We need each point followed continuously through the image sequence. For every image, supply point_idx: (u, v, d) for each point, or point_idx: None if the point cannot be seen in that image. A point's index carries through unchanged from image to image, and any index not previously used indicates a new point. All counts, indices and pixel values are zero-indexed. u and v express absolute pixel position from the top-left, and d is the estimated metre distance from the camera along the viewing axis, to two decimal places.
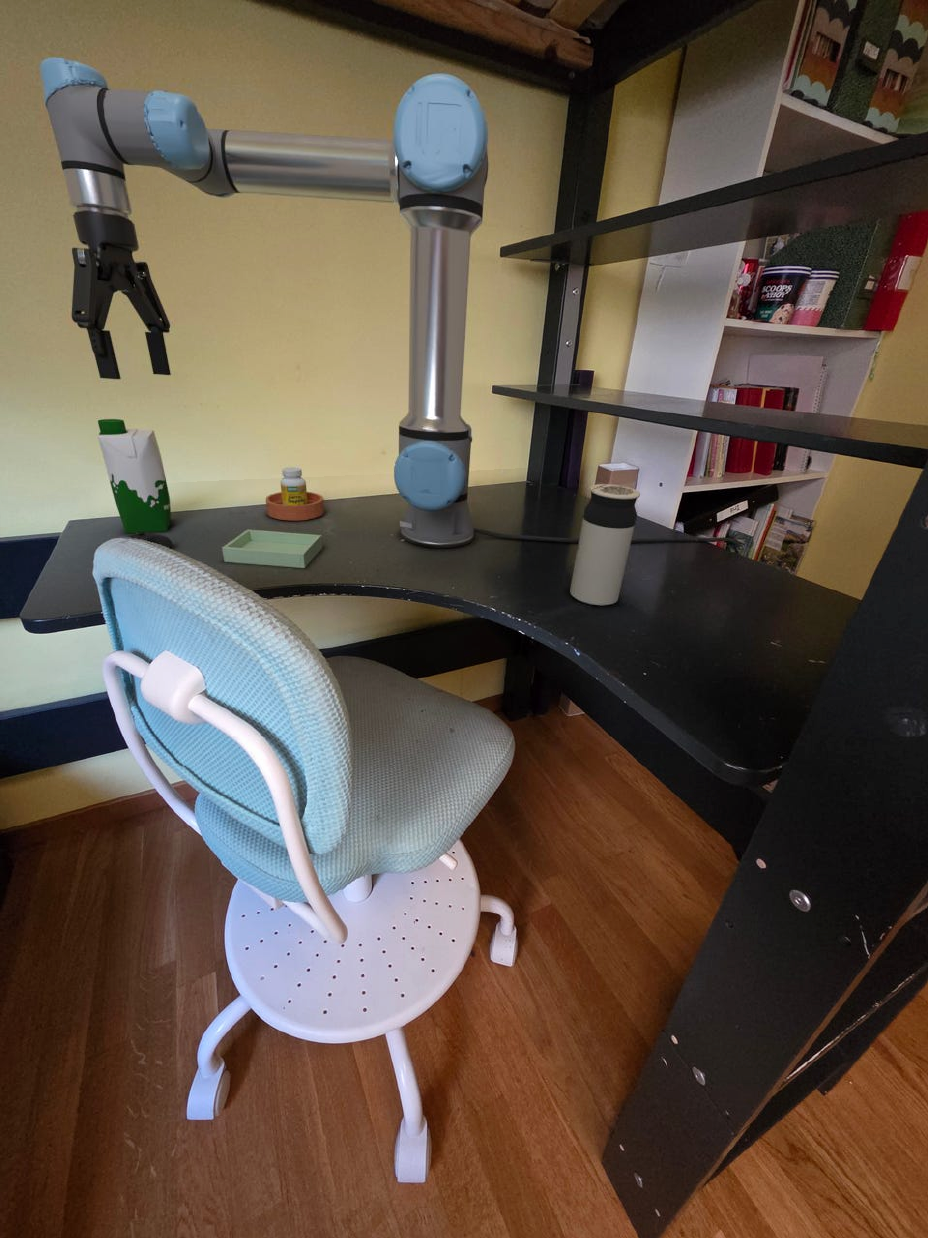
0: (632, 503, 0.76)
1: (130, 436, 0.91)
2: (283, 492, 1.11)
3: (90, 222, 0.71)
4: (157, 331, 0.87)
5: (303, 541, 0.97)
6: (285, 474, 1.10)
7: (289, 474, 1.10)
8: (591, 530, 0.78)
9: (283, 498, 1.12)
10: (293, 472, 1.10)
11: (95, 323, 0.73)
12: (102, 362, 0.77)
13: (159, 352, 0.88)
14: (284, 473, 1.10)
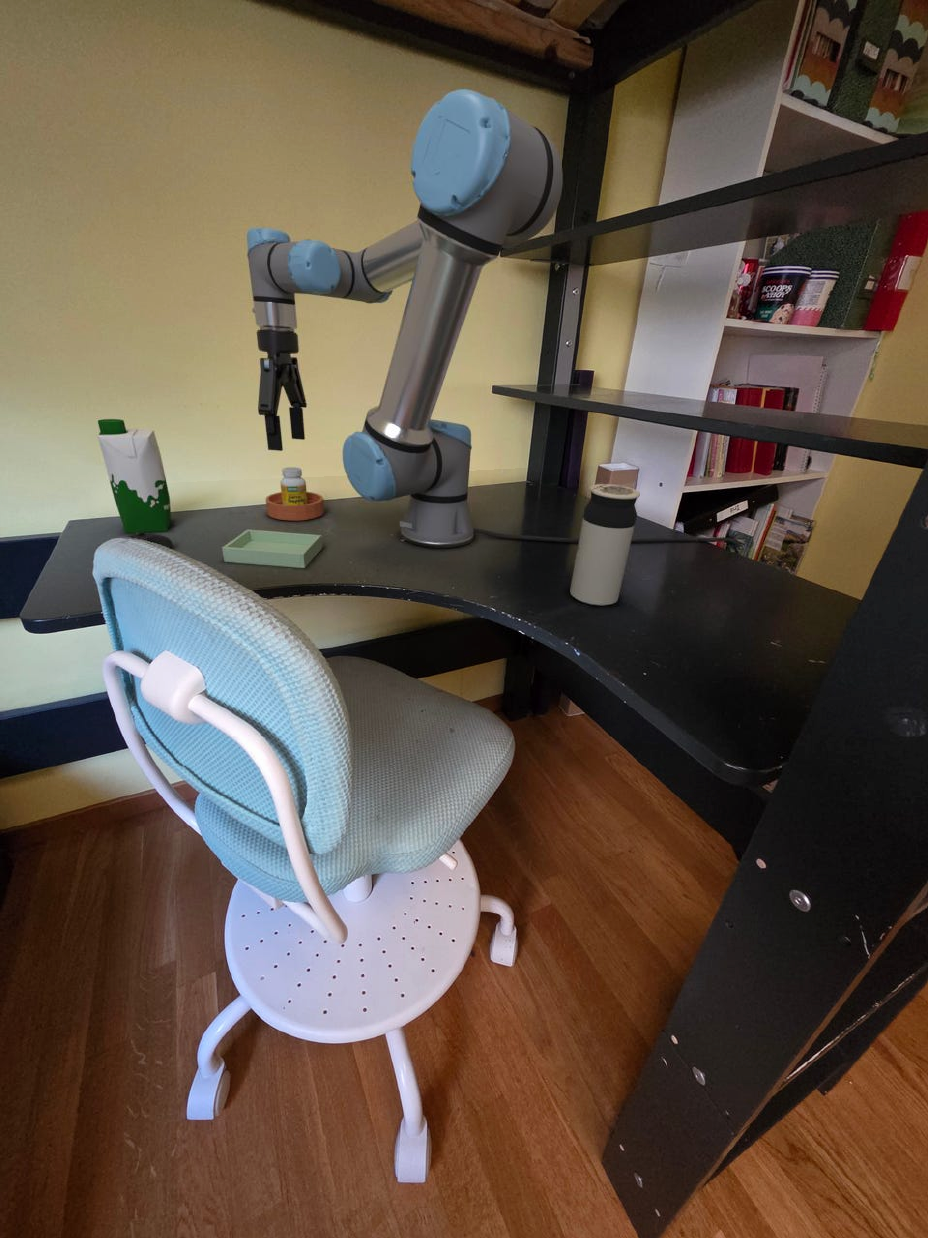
0: (632, 503, 0.76)
1: (130, 436, 0.91)
2: (283, 492, 1.11)
3: (272, 338, 0.96)
4: (298, 407, 1.11)
5: (303, 541, 0.97)
6: (285, 474, 1.10)
7: (289, 474, 1.10)
8: (591, 530, 0.78)
9: (283, 498, 1.12)
10: (293, 472, 1.10)
11: (272, 412, 0.98)
12: (271, 438, 1.01)
13: (298, 422, 1.12)
14: (284, 473, 1.10)
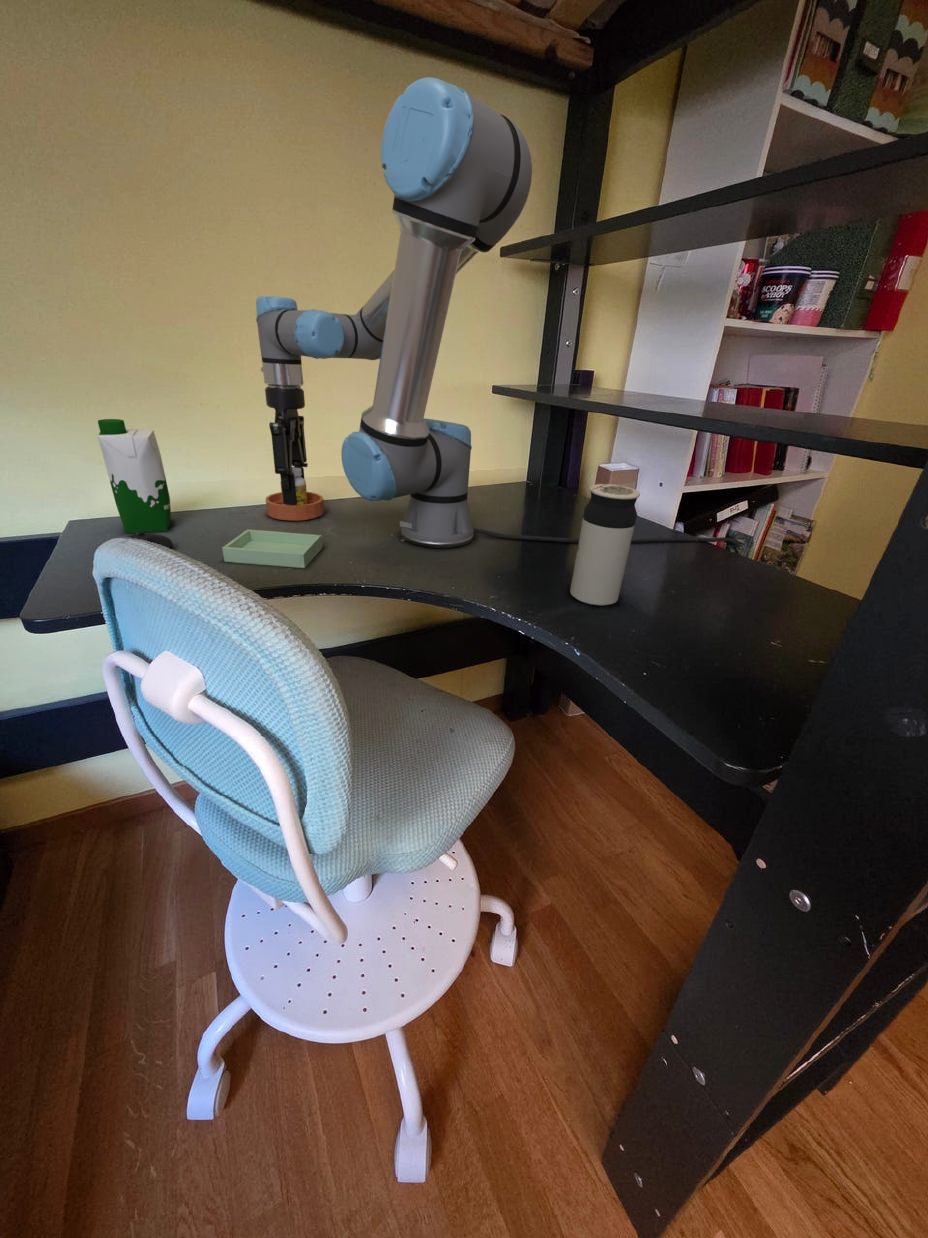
0: (632, 503, 0.76)
1: (130, 436, 0.91)
2: None
3: (279, 396, 1.01)
4: (299, 466, 1.14)
5: (303, 541, 0.97)
6: None
7: None
8: (591, 530, 0.78)
9: None
10: (293, 472, 1.10)
11: (288, 473, 1.07)
12: (286, 494, 1.10)
13: None
14: None
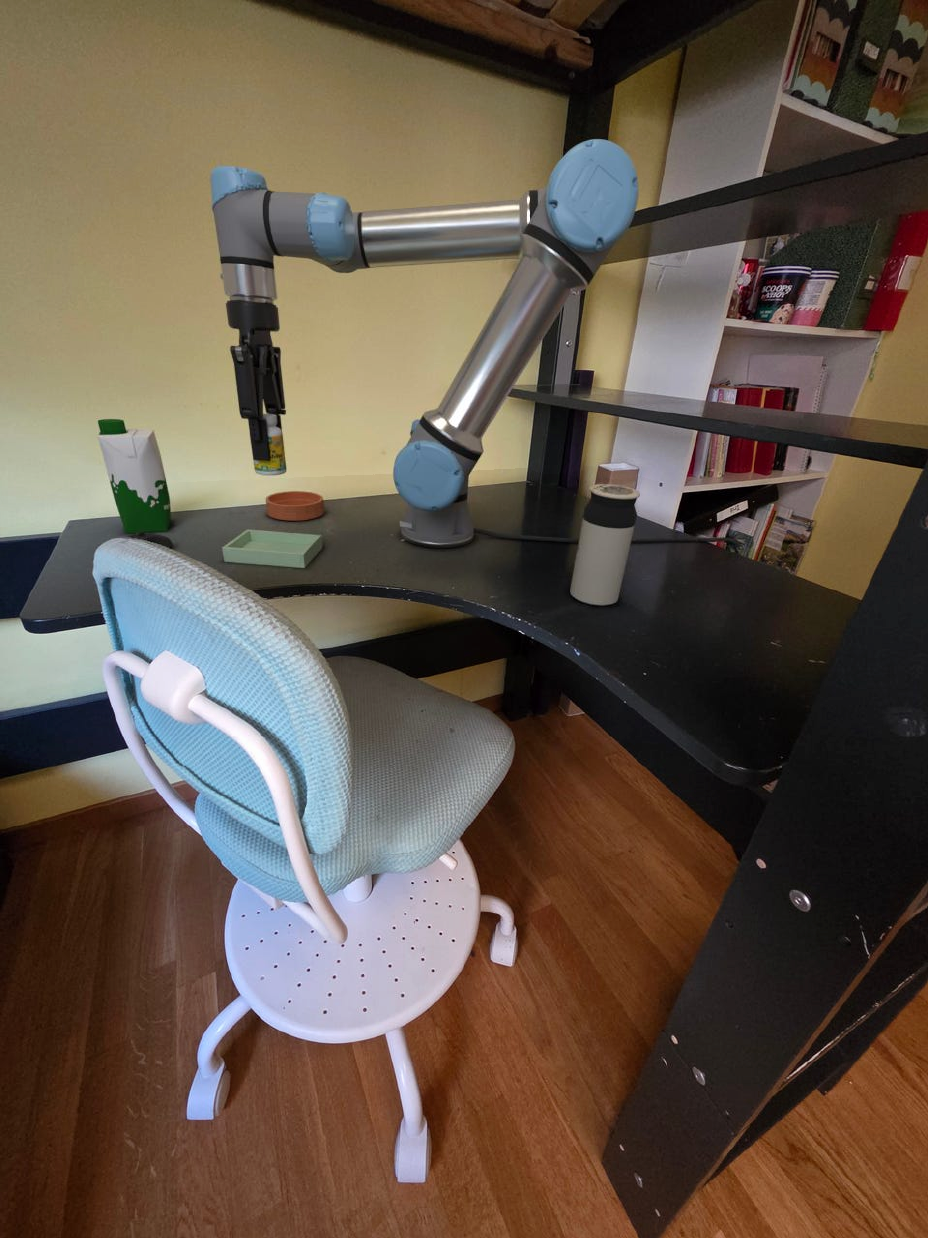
0: (632, 503, 0.76)
1: (130, 436, 0.91)
2: None
3: (244, 311, 0.76)
4: (275, 413, 0.89)
5: (303, 541, 0.97)
6: None
7: None
8: (591, 530, 0.78)
9: None
10: (265, 418, 0.85)
11: (257, 417, 0.82)
12: (257, 446, 0.85)
13: None
14: None
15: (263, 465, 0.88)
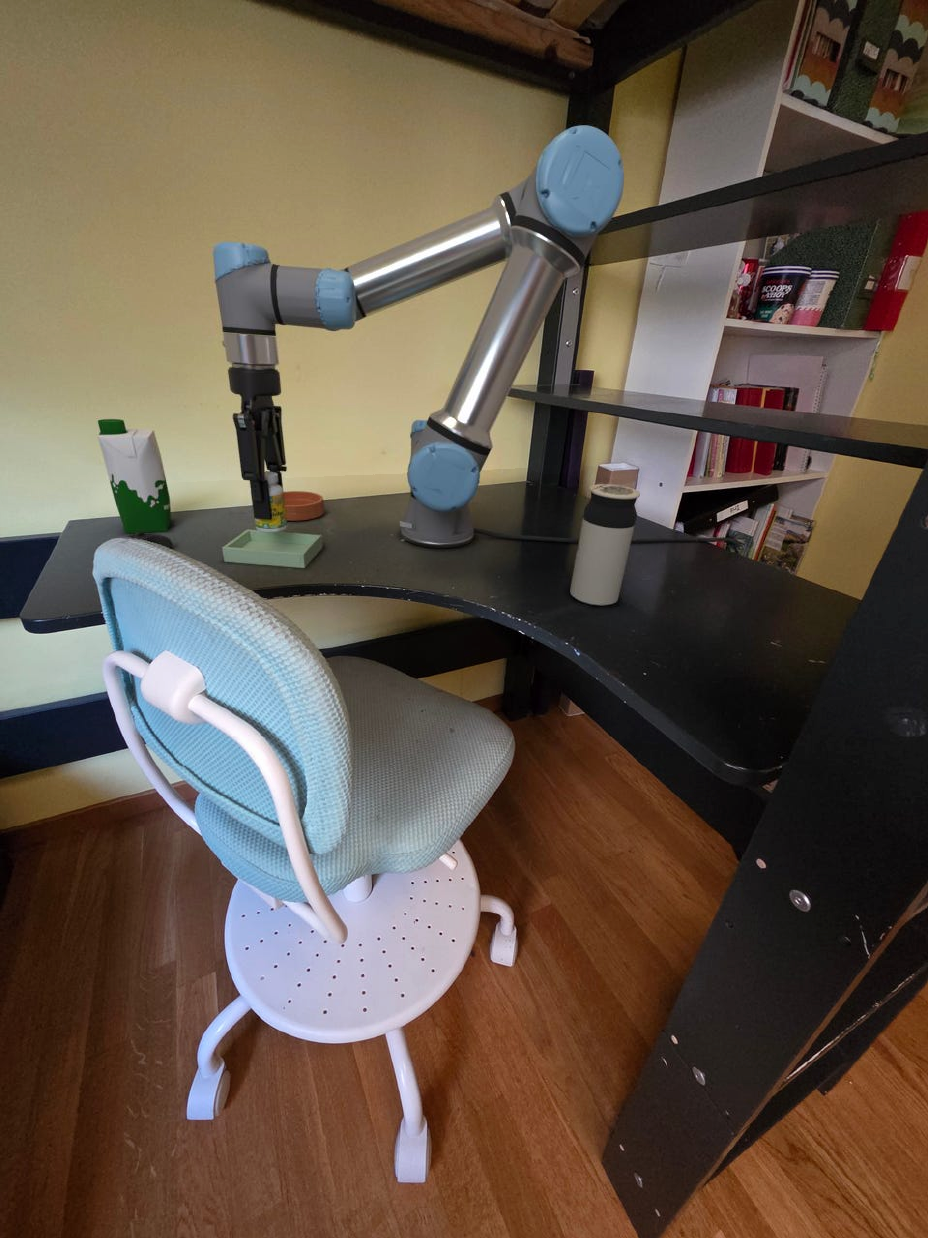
0: (632, 503, 0.76)
1: (130, 436, 0.91)
2: None
3: (246, 379, 0.76)
4: (276, 471, 0.90)
5: (303, 541, 0.97)
6: None
7: None
8: (591, 530, 0.78)
9: None
10: (266, 478, 0.85)
11: (259, 479, 0.82)
12: (258, 506, 0.86)
13: None
14: None
15: (264, 523, 0.88)
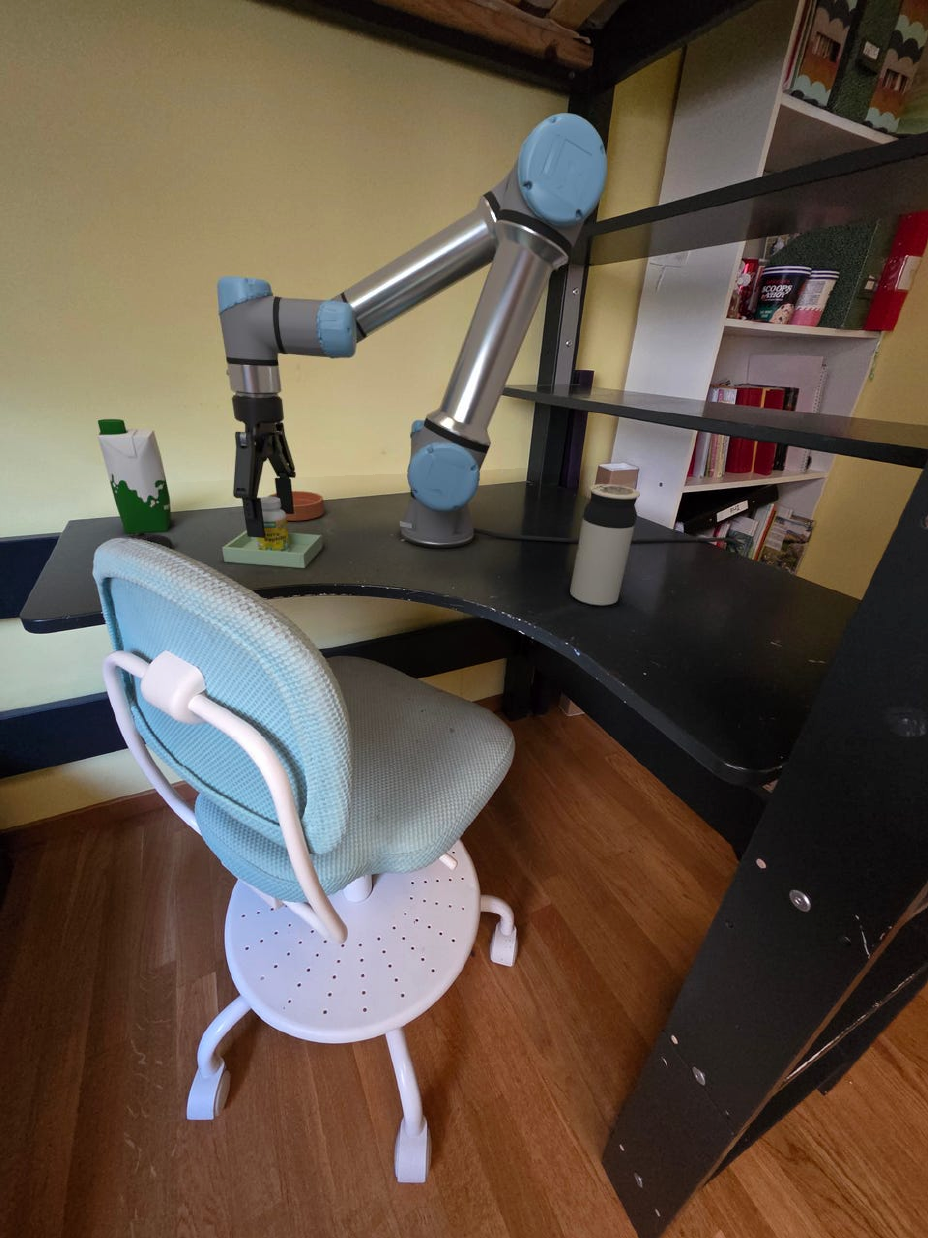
0: (632, 503, 0.76)
1: (130, 436, 0.91)
2: None
3: (250, 407, 0.78)
4: (285, 477, 0.94)
5: (303, 541, 0.97)
6: None
7: (264, 506, 0.87)
8: (591, 530, 0.78)
9: None
10: (269, 504, 0.87)
11: None
12: (251, 524, 0.83)
13: (286, 495, 0.95)
14: None
15: (267, 547, 0.90)
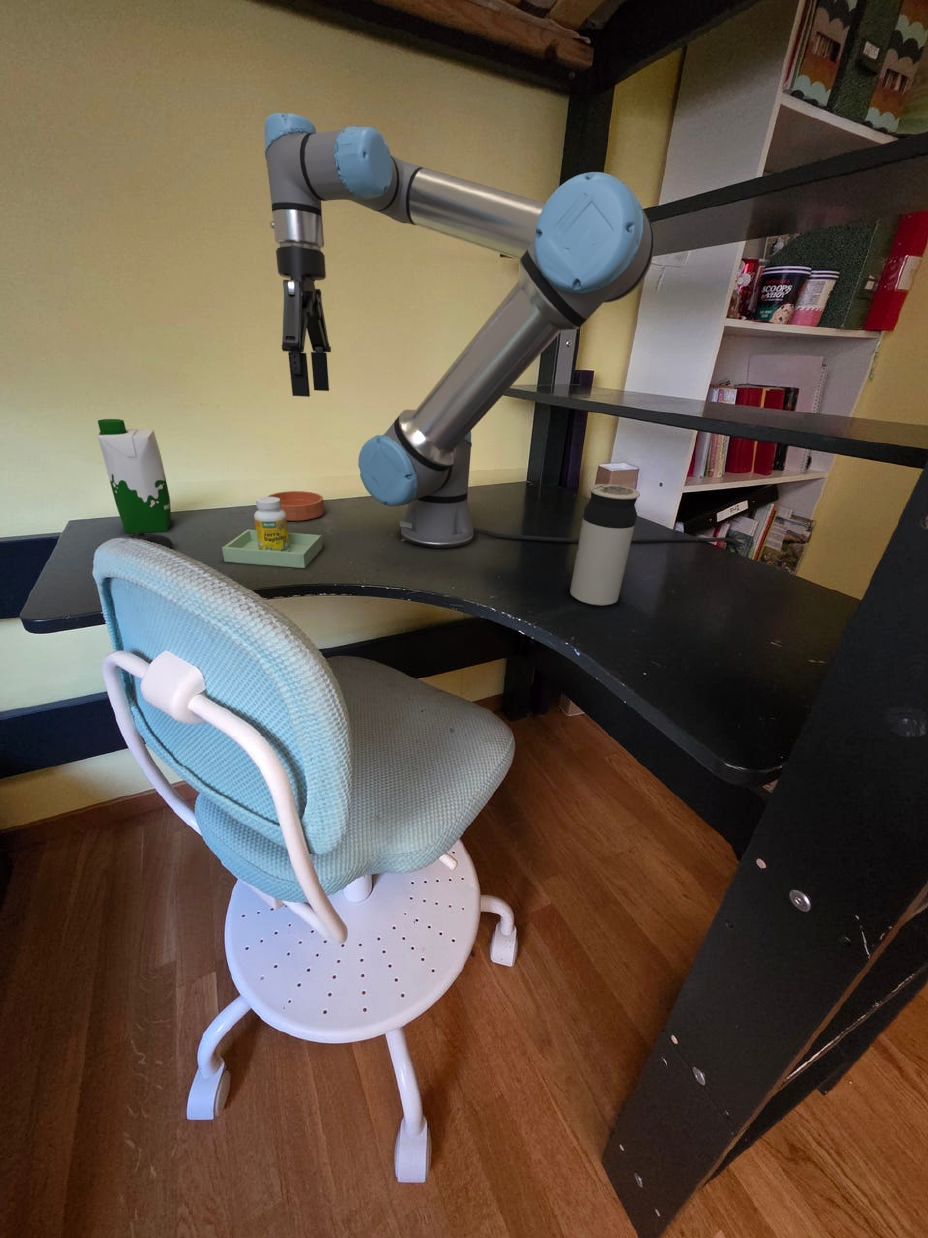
0: (632, 503, 0.76)
1: (130, 436, 0.91)
2: (257, 528, 0.89)
3: (296, 256, 0.79)
4: (321, 351, 0.95)
5: (303, 541, 0.97)
6: (260, 506, 0.87)
7: (265, 506, 0.87)
8: (591, 530, 0.78)
9: (258, 535, 0.90)
10: (270, 504, 0.87)
11: None
12: (297, 381, 0.84)
13: (322, 370, 0.96)
14: (258, 505, 0.88)
15: (267, 547, 0.90)
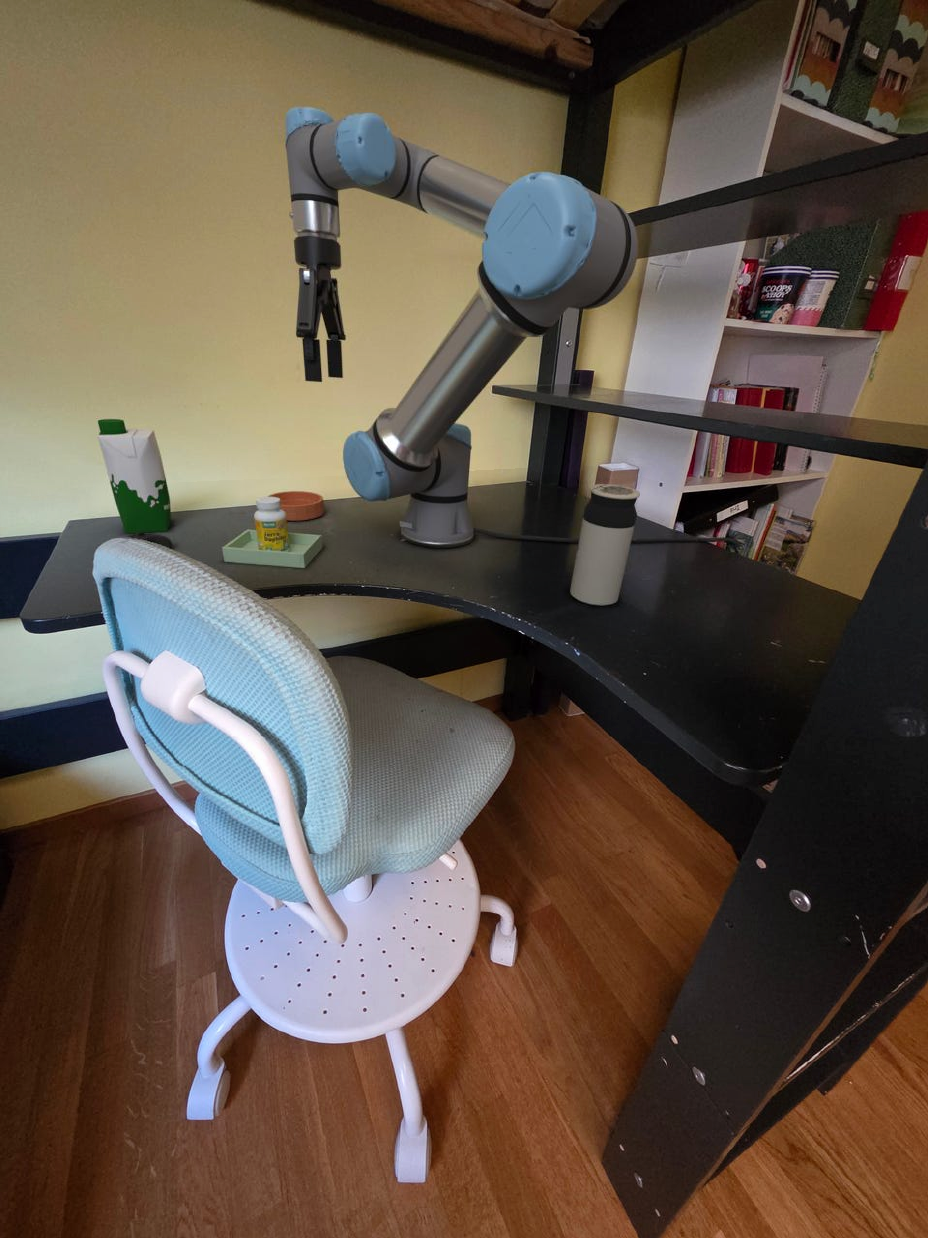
0: (632, 503, 0.76)
1: (130, 436, 0.91)
2: (257, 528, 0.89)
3: (312, 246, 0.82)
4: (336, 339, 0.98)
5: (303, 541, 0.97)
6: (260, 506, 0.87)
7: (265, 506, 0.87)
8: (591, 530, 0.78)
9: (258, 535, 0.90)
10: (270, 504, 0.87)
11: (312, 333, 0.84)
12: (310, 367, 0.87)
13: (336, 357, 0.99)
14: (258, 505, 0.88)
15: (267, 547, 0.90)
